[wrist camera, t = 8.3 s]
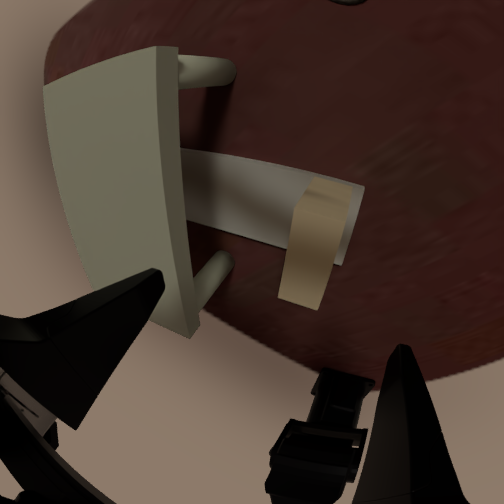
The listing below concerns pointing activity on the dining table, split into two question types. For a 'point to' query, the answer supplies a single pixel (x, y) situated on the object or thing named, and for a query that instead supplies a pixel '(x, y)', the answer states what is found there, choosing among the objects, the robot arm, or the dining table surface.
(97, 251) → the miniature white bench
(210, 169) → the scraper
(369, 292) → the dining table surface
